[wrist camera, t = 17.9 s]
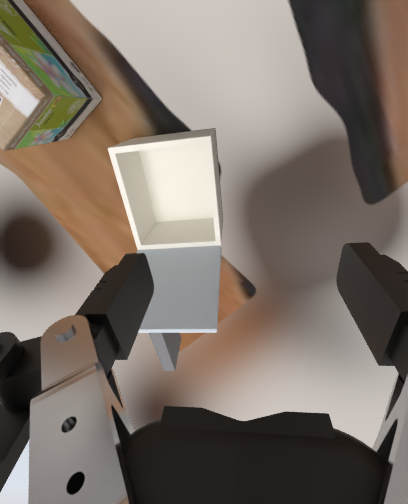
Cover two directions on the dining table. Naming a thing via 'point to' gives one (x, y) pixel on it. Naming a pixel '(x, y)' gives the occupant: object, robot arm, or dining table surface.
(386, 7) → the dining table surface
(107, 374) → the robot arm
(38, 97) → the tea box
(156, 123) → the dining table surface
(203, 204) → the carton
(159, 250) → the square plate with stem
